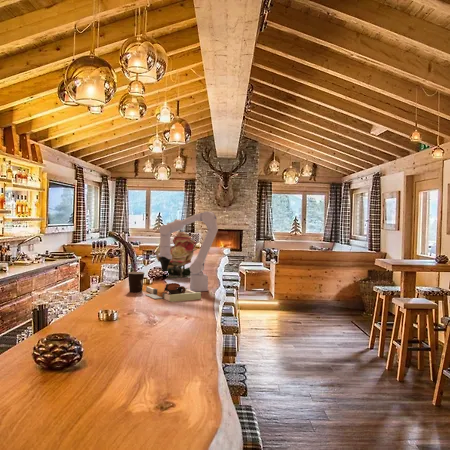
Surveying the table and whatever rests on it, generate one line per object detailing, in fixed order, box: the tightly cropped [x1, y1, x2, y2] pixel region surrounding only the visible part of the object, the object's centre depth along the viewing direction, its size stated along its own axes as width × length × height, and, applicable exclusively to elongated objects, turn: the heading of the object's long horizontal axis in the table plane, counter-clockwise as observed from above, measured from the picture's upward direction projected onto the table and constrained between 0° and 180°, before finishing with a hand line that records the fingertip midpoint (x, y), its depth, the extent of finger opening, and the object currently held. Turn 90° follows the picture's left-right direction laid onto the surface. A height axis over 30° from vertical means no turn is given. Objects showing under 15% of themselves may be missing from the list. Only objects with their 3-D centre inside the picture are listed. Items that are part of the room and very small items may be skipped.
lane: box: [145, 286, 202, 303], centre depth 229 cm, size 24×31×3 cm
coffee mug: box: [127, 271, 145, 294], centre depth 237 cm, size 12×9×10 cm
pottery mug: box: [163, 282, 186, 295], centre depth 223 cm, size 12×10×8 cm
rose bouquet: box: [154, 230, 198, 279], centre depth 297 cm, size 26×29×30 cm
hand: (164, 270), depth 247 cm, fingers closed
